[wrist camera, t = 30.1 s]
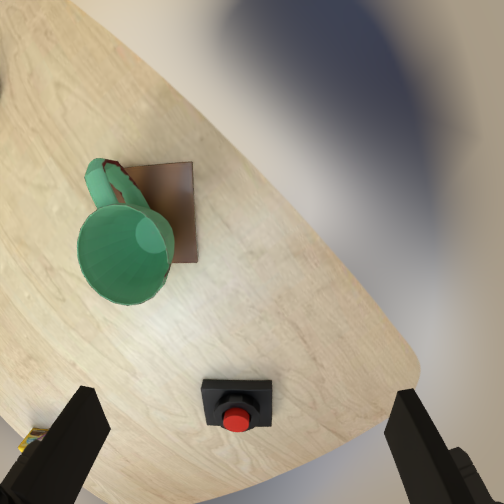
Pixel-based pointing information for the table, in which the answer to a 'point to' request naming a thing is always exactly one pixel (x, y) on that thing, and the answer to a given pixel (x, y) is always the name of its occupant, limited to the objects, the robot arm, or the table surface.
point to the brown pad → (170, 202)
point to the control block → (238, 400)
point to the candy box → (32, 437)
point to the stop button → (236, 420)
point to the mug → (123, 238)
